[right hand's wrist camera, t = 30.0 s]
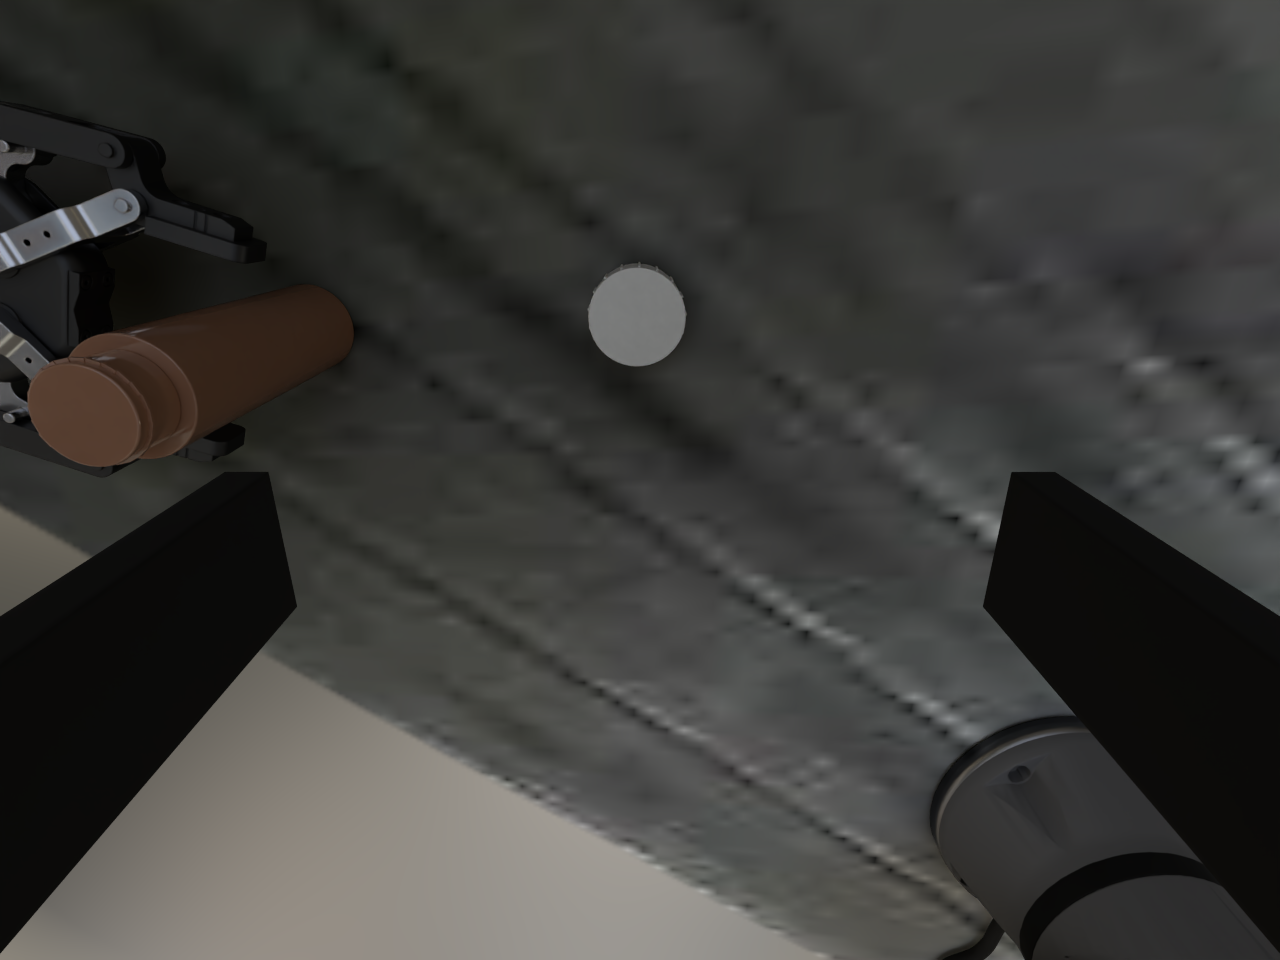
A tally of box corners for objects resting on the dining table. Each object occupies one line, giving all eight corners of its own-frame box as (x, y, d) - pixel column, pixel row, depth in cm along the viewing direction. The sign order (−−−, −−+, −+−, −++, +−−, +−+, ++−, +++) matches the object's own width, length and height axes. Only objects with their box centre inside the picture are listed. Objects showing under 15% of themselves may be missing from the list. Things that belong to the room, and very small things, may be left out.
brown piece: (319, 268, 34) (84, 319, 20) (370, 345, 36) (187, 445, 21) (251, 309, 35) (-24, 387, 20) (304, 382, 36) (82, 504, 22)
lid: (612, 245, 34) (610, 248, 32) (700, 286, 34) (704, 291, 32) (575, 334, 35) (571, 343, 33) (660, 372, 36) (661, 383, 34)
